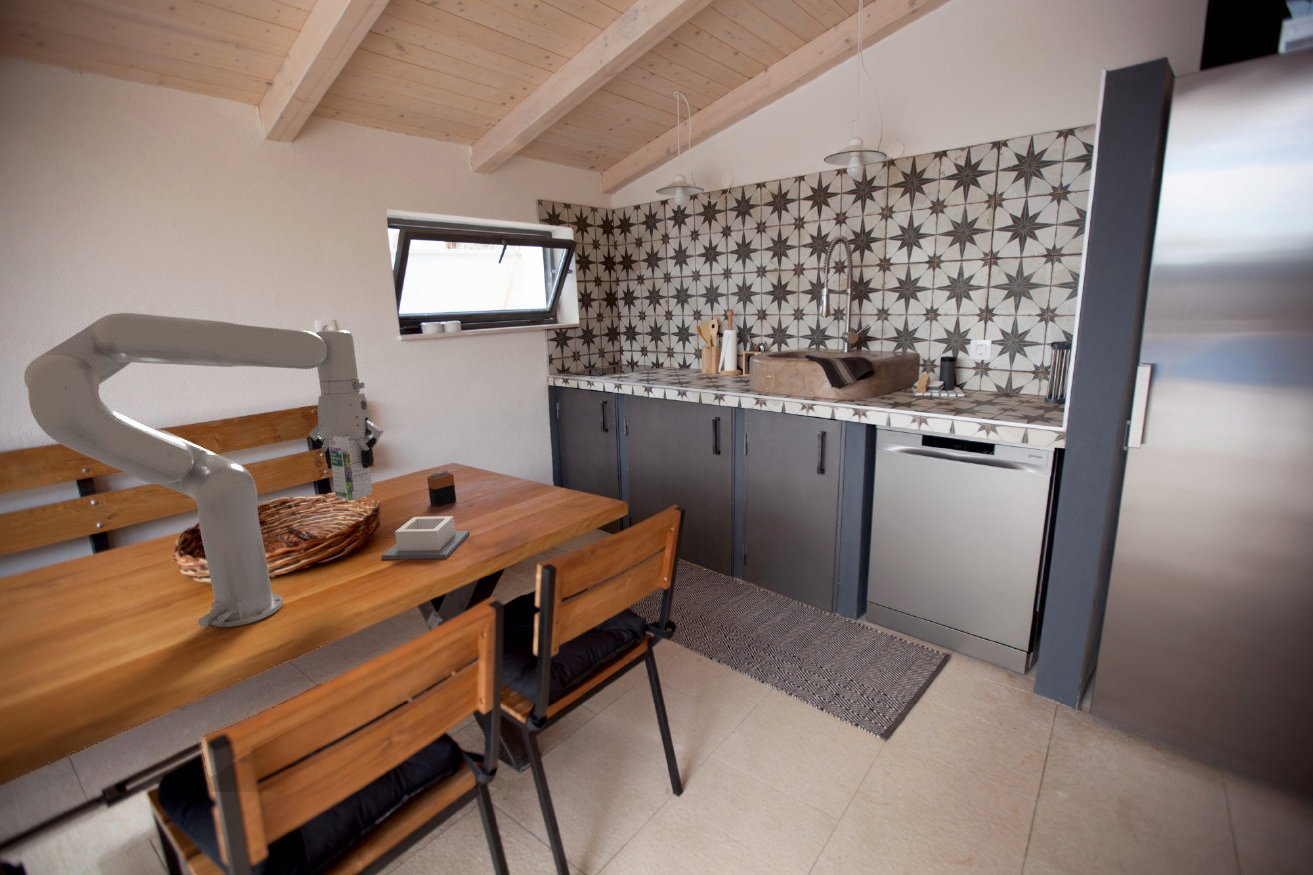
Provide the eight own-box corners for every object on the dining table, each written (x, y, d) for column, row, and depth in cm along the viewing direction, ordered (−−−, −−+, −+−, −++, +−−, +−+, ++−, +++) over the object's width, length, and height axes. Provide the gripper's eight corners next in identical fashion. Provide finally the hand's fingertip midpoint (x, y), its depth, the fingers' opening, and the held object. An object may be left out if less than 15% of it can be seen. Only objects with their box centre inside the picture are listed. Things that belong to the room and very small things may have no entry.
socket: (446, 558, 147) (443, 534, 146) (382, 559, 148) (378, 535, 147) (469, 533, 163) (467, 512, 161) (411, 534, 163) (408, 513, 162)
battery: (429, 504, 189) (426, 473, 187) (449, 499, 194) (446, 468, 192) (436, 507, 186) (433, 475, 184) (457, 501, 191) (453, 470, 189)
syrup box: (334, 498, 136) (325, 434, 133) (357, 491, 141) (349, 429, 138) (351, 501, 133) (342, 436, 130) (374, 494, 138) (366, 431, 135)
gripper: (387, 385, 135) (396, 462, 139) (311, 386, 136) (322, 463, 140) (370, 389, 128) (380, 470, 131) (290, 391, 129) (302, 472, 132)
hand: (350, 466), depth 136 cm, fingers closed on syrup box, 7 cm apart
